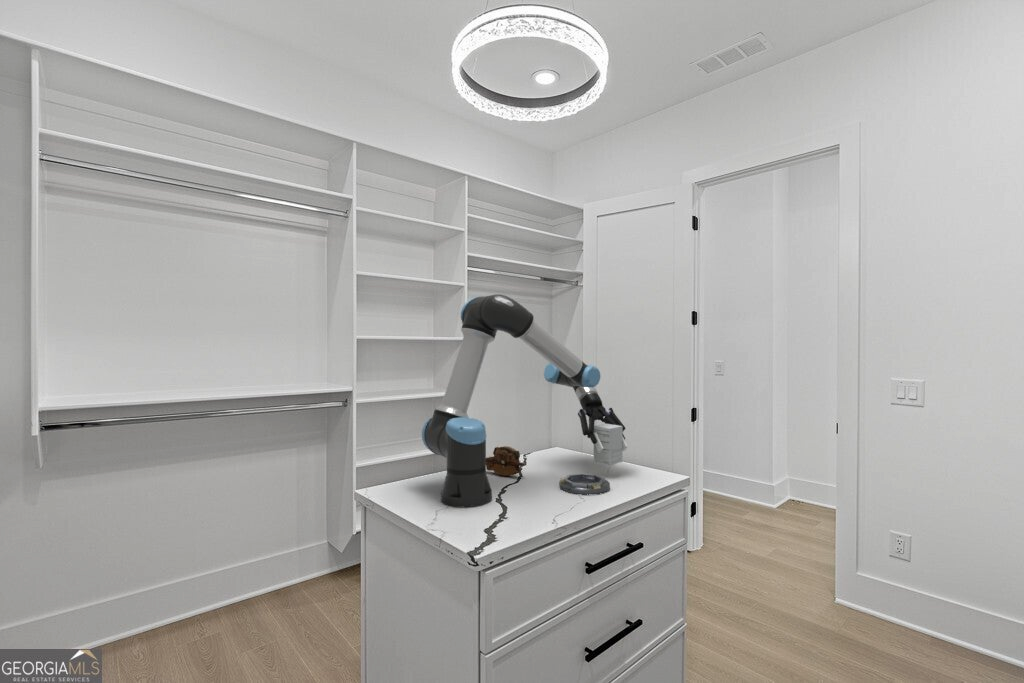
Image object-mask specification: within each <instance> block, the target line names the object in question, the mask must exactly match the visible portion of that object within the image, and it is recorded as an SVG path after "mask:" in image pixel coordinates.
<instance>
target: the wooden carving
mask: <svg viewBox="0 0 1024 683" xmlns="http://www.w3.org/2000/svg"><path fill="white" fill-rule="evenodd" d="M492 454H493V456H488V457H487V456H486V471H490V472H492V471H493V472H494V473H495V474H497V475H499V476H504V477H505V476H507V477H508V476H514V475H517V474H520V473H521V472H522V469H521V468H520V467H523V466H525V465H526V464H525V462H521V461H520V457H521V453H520V451H519V450H516V449H515V448H513V447H512V446H505V445H504V446H500V447H499V446H495V447H494V449H493V452H492Z"/></svg>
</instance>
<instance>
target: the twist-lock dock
mask: <svg viewBox="0 0 1024 683" xmlns="http://www.w3.org/2000/svg"><path fill="white" fill-rule="evenodd" d="M610 484H611V483H610V482H609V481H608V480H607V479H606V478H604V477H602V476H600V475H598V474H595V473H594V474H593V473H592V474H591V473H590V474H589V473H575V474H568V475H566V476H565V477H563V478H562V477H560V478H559V482H558V488H559V489H560V490H561V491H562V490H563V492H564V491H565V492H564V493H567V492H568V493H567V494H571V493H572V494H571V495H577V494H582V495H581V496H590V495H589V494H597V495H601V494H600V493H603V494H605V493H604V492H606V493H607V491H608V490H609V489H610V490H611V485H610ZM610 490H609V491H610ZM609 491H608V492H609ZM587 494H588V495H587Z"/></svg>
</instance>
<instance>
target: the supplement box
mask: <svg viewBox="0 0 1024 683" xmlns="http://www.w3.org/2000/svg"><path fill="white" fill-rule="evenodd" d="M594 433H597V435H598V437H599V439H600V441H601V444H602V446H603V448H604V449H603V450H602V452H601V453H598V451H597V448H596V446H595V444H593V462H594V463H598V464H603V465H607V466H612V465H616V464H619V463H622V462H623V461H624V460H623V450H622V446H623V435H624V431H623V427H622V426H619V425H612V424H605V423H603V424H597V425H596V424H595V425H594Z"/></svg>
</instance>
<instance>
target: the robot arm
mask: <svg viewBox="0 0 1024 683" xmlns="http://www.w3.org/2000/svg"><path fill="white" fill-rule="evenodd" d="M460 320H461V324H462V326H461V327H460V328H461V329H460V331H461V332H462V335H463V338H462V341H461V343H460V346H459V349H458V352H457V355H456V359H455V362H454V365H453V368H452V371H451V375H450V378H449V380H448V383H447V386H446V390H445V392H444V393H445V394H444V396H443V399H442V402H441V404H440V405H438V406H437V407H435V409H434V412H433V414H432V416H431V417H430V418H429V419H427V421H425V423H424V424H423V427H422V429H421V430H422V431H421V439H422V443H423V445H424V446H425V448H426V449H428V450H429V451H430V452H431V453H433V454H435V455H438V456H441V457H443V458H446V475H445V478H444V482H443V485H442V488H441V492H440V501H441V503H442V504H444V505H447V506H450V507H458V508H470V507H477V506H482V505H486V504H488V503H490V502H491V501H492V498H493V492H492V488H491V483H490V480H489V478H488V475H487V469H486V458H487V455H486V454H487V449H486V448H487V442H486V441H487V431H486V425H485V423H484V422H483V421H481V420H479V419H477V418H470V417H469V415H468V409H469V408H470V407H469V406H470V403H471V400H472V396H473V394H474V390H475V386H476V384H477V380H478V379H479V378H478V377H479V374H480V371H481V368H482V365H483V361H484V358H485V355H486V353H487V349H488V345H489V344H490V343H492V342H494V341H495V338H496V336H497V332H498V331H501V332H504V333H507V334H509V335H510V336H511V337H512V338H515V339H520V340H521V341H523V342H524V343H525V344H526V345H528V347H530V348H531V349H533V350H534V351H535V352H536V353H537V354H539V355H540V356H541V357H542V358H544V359H545V360H546V361H548V362H549V363H547V364H546V366H545V367H544V371H543V376H544V379H545V381H547V383H548V382H549V383H551V384H555V385H561V386H566V387H569V388H572V389H573V390H574V392H575V395H576V397H577V399H578V401H579V403H580V406H581V408H580V409H579V410H578V412H577V416H578V417H579V420H580V425H581V431H582V435H583V436H584V437H586V436H587V438H588V439H590V441H591V443H592V444H593V445H594V444H595V446H596V448H597V451H598V453H601V452H602V450H603V449H604V448H603V446H602V444H601V441H600V439H599V437H598V435H597V433H594V426H595V422H596V421H601V423H603V424H612V425H619V426H622V427H623V432H624V431H625V430H626V427H625V425H624V424H623V423H622V421H621V420H620V419H619V417H618V416H617V415H616V414H615V412H614V410H613V408H612V407H609V408H606V407H604V405H603V401H602V399H601V397H600V395H599V393H598V390H597V389H596V387H597V385H598V384H599V383H600V381H601V372H600V370H599V368H598V367H597V366H594V365H590V364H589V365H588V364H586V363H585V362H584V361H582V360H581V358H580V357H578V356H577V355H576V354H575V353H573V352H572V351H571V350H570V349H569V348H568V347H567V346H565V345H564V344H563V343H561V342H560V341H559V340H558V339H557V338H556V337H554V335H552V334H551V333H550V332H549V331H548V330H546V329H545V327H543V326H542V325H541V324H539V323H538V322H537V321H536V320H535V315H534V314H533V313H531V312H530V311H529V310H528V309H527V308H525V307H524V306H523V305H522V304H520V303H519V302H518V301H516V300H515V299H513V298H512V297H510V296H507V295H504V294H498V293H497V294H490V295H485V296H484V295H483V296H482V295H481V296H480V295H479V296H476V297H473V298H471V299H469V300H467V301H466V302H465V303H464V305H462V307H461V311H460ZM587 417H588V421H587ZM628 447H629V446H628V443H627V442H626V436H625V435H624V434H623V446H622V452H625V451H626V450H627V448H628Z"/></svg>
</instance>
